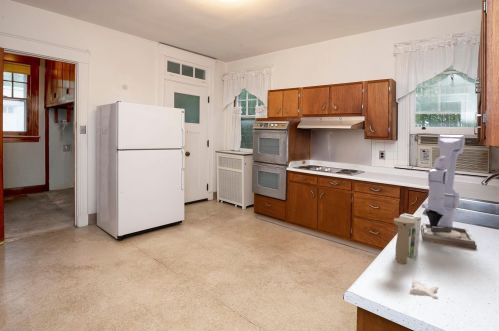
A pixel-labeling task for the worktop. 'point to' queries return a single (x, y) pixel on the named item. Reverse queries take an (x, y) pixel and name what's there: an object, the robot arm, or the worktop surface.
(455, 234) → the dial
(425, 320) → the worktop surface
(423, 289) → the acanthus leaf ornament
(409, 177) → the worktop surface
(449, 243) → the dial housing
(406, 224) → the handle
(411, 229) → the syrup box
